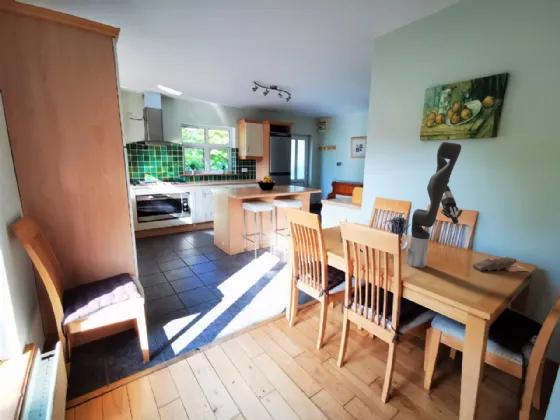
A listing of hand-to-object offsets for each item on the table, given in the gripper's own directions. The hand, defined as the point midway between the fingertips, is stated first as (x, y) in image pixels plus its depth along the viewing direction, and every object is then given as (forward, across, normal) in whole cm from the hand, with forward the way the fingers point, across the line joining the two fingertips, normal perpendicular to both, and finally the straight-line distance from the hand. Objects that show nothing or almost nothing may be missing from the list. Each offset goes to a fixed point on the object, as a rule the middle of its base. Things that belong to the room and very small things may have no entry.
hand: (456, 223), depth 162 cm
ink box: (-17, -58, +52) cm, 79 cm away
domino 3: (+25, +17, +8) cm, 31 cm away
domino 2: (+26, +12, +7) cm, 29 cm away
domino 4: (+24, +23, +8) cm, 34 cm away
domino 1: (+26, +7, +7) cm, 28 cm away
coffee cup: (-6, -59, +40) cm, 72 cm away
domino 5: (+25, +25, +8) cm, 36 cm away
